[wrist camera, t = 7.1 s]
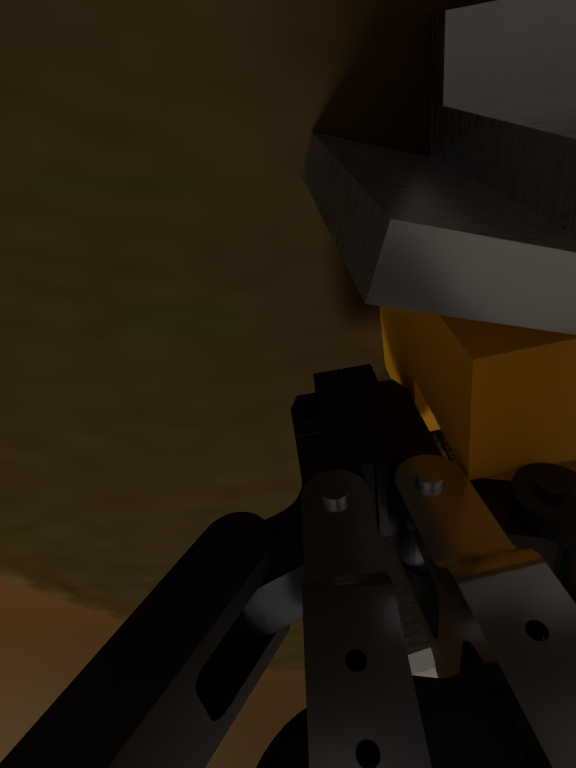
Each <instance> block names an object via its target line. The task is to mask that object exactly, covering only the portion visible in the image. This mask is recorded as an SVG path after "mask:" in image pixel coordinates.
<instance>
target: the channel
mask: <svg viewBox="0 0 576 768" xmlns="http://www.w3.org/2000/svg"><path fill="white" fill-rule="evenodd" d="M303 180H304V182H305V184H306V186H307V188H308V190H309V192H310V194H311V196H312V198H313V200H314V202H315V204H316V206H317V208H318V210H319V212H320V214H321V216H322V218H323V220H324V222H325V224H326V226H327V228H328V230H329V232H330V234H331V236H332V238H333V241H334V243H335V245H336V247H337V249H338V251H339V253H340V255H341V257H342V259H343V261H344V263H345V265H346V267H347V269H348V271H349V273H350V275H351V277H352V279H353V281H354V283H355V285H356V287H357V289H358V291H359V293H360V295H361V297H362V299H363V301H364V303H365V304H369V305H376V306H383V307H390V308H397V309H403V310H410V311H417V312H424V313H431V314H437V315H444V316H451V317H458V318H465V319H471V320H478V321H485V322H492V323H498V324H505V325H512V326H519V327H526V328H532V329H539V330H546V331H553V332H560V333H566V334H573V335H576V0H496V1H491V2H486V3H481V4H476V5H471V6H465V7H460V8H455V9H450V10H445V11H441V12H436V13H432V45H431V119H430V157H429V156H425V155H420V154H415V153H410V152H405V151H401V150H396V149H391V148H386V147H382V146H377V145H372V144H367V143H362V142H358V141H353V140H348V139H343V138H338V137H334V136H329V135H324V134H319V133H314V132H312V133H311V138H310V144H309V149H308V154H307V159H306V164H305V169H304V174H303ZM430 433H431V435H432V437H433V439H434V440H435V442H436V444H437V446H438V448H439V450H440V452H441V454H442V456H443V457H444V458H446V459H449V460H451V461H452V462H454V463H455V464H457V465H458V466H459V467H460V468H461V466H460V464H459V462H458V460H457V458H456V457H455V455H454V453H453V451H452V449H451V447H450V445H449V443H448V442H447V440H446V438H445V436H444V434H443V432H442V430H441V429H439V430H434V431H430ZM556 465H560V466H563V467H566V468H568V469H571V470H573V471H575V472H576V460H571V461H566V462H561V463H556ZM461 469H462V468H461ZM462 471H463V470H462ZM515 472H516V471H515ZM515 472H510V473H504V474H499V475H494V476H489V477H484V478H485V479H496V480H508V481H512V478H513V476H514V474H515ZM464 474H465V473H464ZM377 529H378V528H377ZM378 534H379V532H378ZM379 539H380V544H381V548H382V553H383V558H384V563H385V568H386V572H387V575H388V576H390V578H391V581H392V585H393V589H394V593H395V598H396V602H397V607H398V612H399V616H400V621H401V626H402V630H403V635H404V640H405V644H406V649H407V654H408V658H409V663H410V668H411V672H412V675H414V674H416V673H420V672H423V671H426V670H428V669H432V668H435V662H434V657H433V654H432V650H431V647H430V644H429V642H428V639H427V637H426V635H425V632H424V630H423V627H422V625H421V622H420V620H419V618H418V615H417V613H416V610H415V608H414V606H413V603H412V601H411V598H410V596H409V593H408V591H407V589H406V586H405V584H404V581H403V579H402V576H401V574H400V572H399V569H398V566H397V560H396V546H395V543H394V540H393V537H392V535H388V536H382V537H380V535H379Z"/></svg>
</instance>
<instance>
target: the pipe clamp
mask: <svg viewBox="0 0 576 768" xmlns="http://www.w3.org/2000/svg"><path fill="white" fill-rule="evenodd" d="M380 314H381V325H382V336H383V347H384V358H385V366H386V368H387V371H388V373H389V375H390V377H391V379H392V380H393V379H394V380H395V381H396V382H398V383H399V384H401V385H402V386H403V387H405V388H406V389H408V391H409V393H410V395H411V397H412V399H413V401H414V403H415V405H416V406H417V408H418V410H419V412H420V416H422V418H423V420H424V422H425V423H426V425H427V427H428V429H429V431H434V430H439V429H441V430H442V432H443V434H444V436H445V438H446V440H447V442H448V443H449V445H450V447H451V449H452V451H453V453H454V455H455V457H456V458H457V460H458V462H459V464H460V466H461V468H462V470H463V472H464V473H465V475H466V477H467V478H468V479H469V480H474V479H479V478H484V477H489V476H494V475H499V474H504V473H510V472H515V471H518V470H519V469H520V468H522V467H523V466H526V465H529V464H534V463H550V464H556V463H561V462H566V461H571V460H576V335H573V334H566V333H560V332H553V331H546V330H539V329H532V328H526V327H519V326H512V325H505V324H498V323H492V322H485V321H478V320H471V319H465V318H458V317H451V316H444V315H437V314H431V313H424V312H417V311H410V310H403V309H397V308H390V307H383V306H380Z"/></svg>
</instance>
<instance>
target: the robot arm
mask: <svg viewBox="0 0 576 768" xmlns="http://www.w3.org/2000/svg"><path fill="white" fill-rule="evenodd" d="M313 377H314V385H315V392H316V393H311V394H305V395H299V396H297V397H296V399H295V401H294V404H293V406H292V408H291V413H292V420H293V426H294V432H295V439H296V445H297V452H298V458H299V464H300V471H301V477H302V488H301V491H300V494H299V496H298V497H297V499H296V500H295V501H294V503H293V504H292V505H291V506H289V507H288V508H287V509H285V510H284V511H282V512H280V513H279V514H276V515H274V516H272V517H270V518H268V519H266V520H264V519H262V518H261V517H260V516H258V515H256V514H253V513H249V512H235V513H231V514H227V515H225V516H223V517H221V518H219V519H217V520H216V521H215V522H213V523H212V524H211V525H210V526H209V527H208V528H207V529H206V530H205V531H204V532H203V534H202V535H201V536H200V537H199V538H198V539H197V540H196V542H195V543H194V544H193V545H192V546H191V547H190V548H189V549H188V551H187V552H186V553H185V554H184V555H183V556H182V557H181V559H180V560H179V561H178V562H177V563H176V564H175V565H174V566H173V568H172V569H171V570H170V571H169V572H168V573H167V574H166V576H165V577H164V578H163V579H162V580H161V581H160V582H159V584H158V585H157V586H156V587H155V588H154V589H153V590H152V591H151V593H150V594H149V595H148V596H147V597H146V598H145V599H144V601H143V602H142V603H141V604H140V605H139V606H138V607H137V608H136V610H135V611H134V612H133V613H132V614H131V615H130V616H129V618H128V619H127V620H126V621H125V622H124V623H123V624H122V626H121V627H120V628H119V629H118V630H117V631H116V632H115V633H114V635H113V636H112V637H111V638H110V639H109V640H108V641H107V643H106V644H105V645H104V646H103V647H102V648H101V649H100V650H99V652H98V653H97V654H96V655H95V656H94V657H93V659H92V660H91V661H90V662H89V663H88V664H87V665H86V666H85V667H84V669H83V670H82V671H81V672H80V673H79V674H78V675H77V677H76V678H75V679H74V680H73V681H72V682H71V683H70V684H69V686H68V687H67V688H66V689H65V690H64V691H63V692H62V694H61V695H60V696H59V697H58V698H57V699H56V700H55V702H54V703H53V704H52V705H51V706H50V707H49V708H48V710H47V711H46V712H45V713H44V714H43V715H42V716H41V717H40V719H39V720H38V721H37V722H36V723H35V724H34V725H33V726H32V728H31V729H30V730H29V731H28V732H27V733H26V734H25V736H24V737H23V738H22V739H21V740H20V741H19V743H17V745H16V746H15V747H14V748H13V749H12V751H10V753H9V754H8V755H7V756H6V757H5V758H4V759H3V761H2V762H1V763H0V768H205V767H206V765H207V764H208V762H209V760H210V759H211V757H212V755H213V754H214V752H215V751H216V749H217V747H218V746H219V744H220V742H221V741H222V739H223V738H224V736H225V734H226V733H227V731H228V729H229V728H230V726H231V724H232V723H233V721H234V720H235V718H236V716H237V715H238V713H239V711H240V710H241V708H242V707H243V705H244V703H245V702H246V700H247V698H248V697H249V695H250V693H251V692H252V690H253V689H254V687H255V685H256V684H257V682H258V680H259V678H260V677H261V675H262V674H263V672H264V671H265V669H266V667H267V666H268V664H269V662H270V661H271V659H272V658H273V656H274V654H275V653H276V651H277V649H278V648H279V646H280V644H281V643H282V641H283V640H284V638H285V636H286V635H287V633H288V631H289V628H290V625H291V623H293V622H295V621H297V620H299V619H301V618H302V617H303V631H304V656H305V680H306V704H307V708H306V709H304V710H302V711H301V712H300V713H298V714H297V715H296V716H295V717H294V718H293V719H291V721H289V722H288V723H287V724H286V725H285V726H284V727H283V728H282V730H281V731H280V732H279V733H278V734H277V735H276V736H275V738H274V739H273V740H272V742H271V743H270V745H269V746H268V748H267V749H266V751H265V752H264V754H263V756H262V758H261V759H260V761H259V763H258V765H257V767H256V768H576V472H575V471H573V470H571V469H568V468H566V467H563V466H560V465H556V464H550V463H534V464H529V465H526V466H523V467H522V468H520V469H519V470H518V471H516V472H515V474H514V476H513V478H512V481H508V480H496V479H485V478H479V479H474V480H469V479H468V478H467V477H466V475H465V474H464V472H463V471H462V469H461V468H460V467H459V466H458V465H457V464H455V463H454V462H452V461H451V460H449V459H446V458H444V457H443V456H442V454H441V452H440V450H439V448H438V446H437V444H436V442H435V440H434V439H433V437H432V435H431V433H430V431H429V429H428V427H427V425H426V423H425V422H424V420H423V418H422V416H420V412H419V410H418V408H417V406H416V405H415V403H414V401H413V399H412V397H411V395H410V393H409V391H408V389H406V388H405V387H403V386H402V385H401V384H399V383H398V382H396V381H395V380H394V379H393V380H387V381H381V382H378V380H377V378H376V375H375V373H374V371H373V369H372V367H371V365H370V364H367V365H361V366H355V367H349V368H344V369H342V371H341V369H338V370H332V371H327V372H321V373H315V374H313ZM377 528H378V529H377ZM378 532H379V534H378ZM379 535H380V537H382V536H388V535H392V537H393V540H394V543H395V546H396V560H397V566H398V569H399V572H400V574H401V576H402V579H403V581H404V584H405V586H406V589H407V591H408V593H409V596H410V598H411V601H412V603H413V606H414V608H415V610H416V613H417V615H418V618H419V620H420V622H421V625H422V627H423V630H424V632H425V635H426V637H427V639H428V642H429V644H430V647H431V650H432V654H433V657H434V662H435V667H436V672H437V676H438V678H431V677H422V676H414V675H412V672H411V668H410V663H409V658H408V654H407V649H406V644H405V640H404V635H403V630H402V626H401V621H400V616H399V612H398V607H397V602H396V598H395V593H394V589H393V585H392V581H391V578H390V576H388V575H387V572H386V568H385V563H384V558H383V553H382V548H381V544H380V539H379Z"/></svg>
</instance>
